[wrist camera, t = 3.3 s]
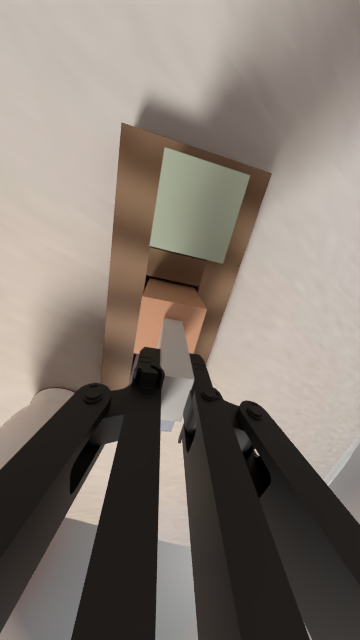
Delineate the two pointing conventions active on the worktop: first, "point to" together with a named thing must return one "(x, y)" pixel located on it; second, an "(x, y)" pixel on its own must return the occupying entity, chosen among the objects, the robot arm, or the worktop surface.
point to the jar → (30, 421)
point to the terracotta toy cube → (168, 312)
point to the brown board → (143, 260)
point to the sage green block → (196, 206)
